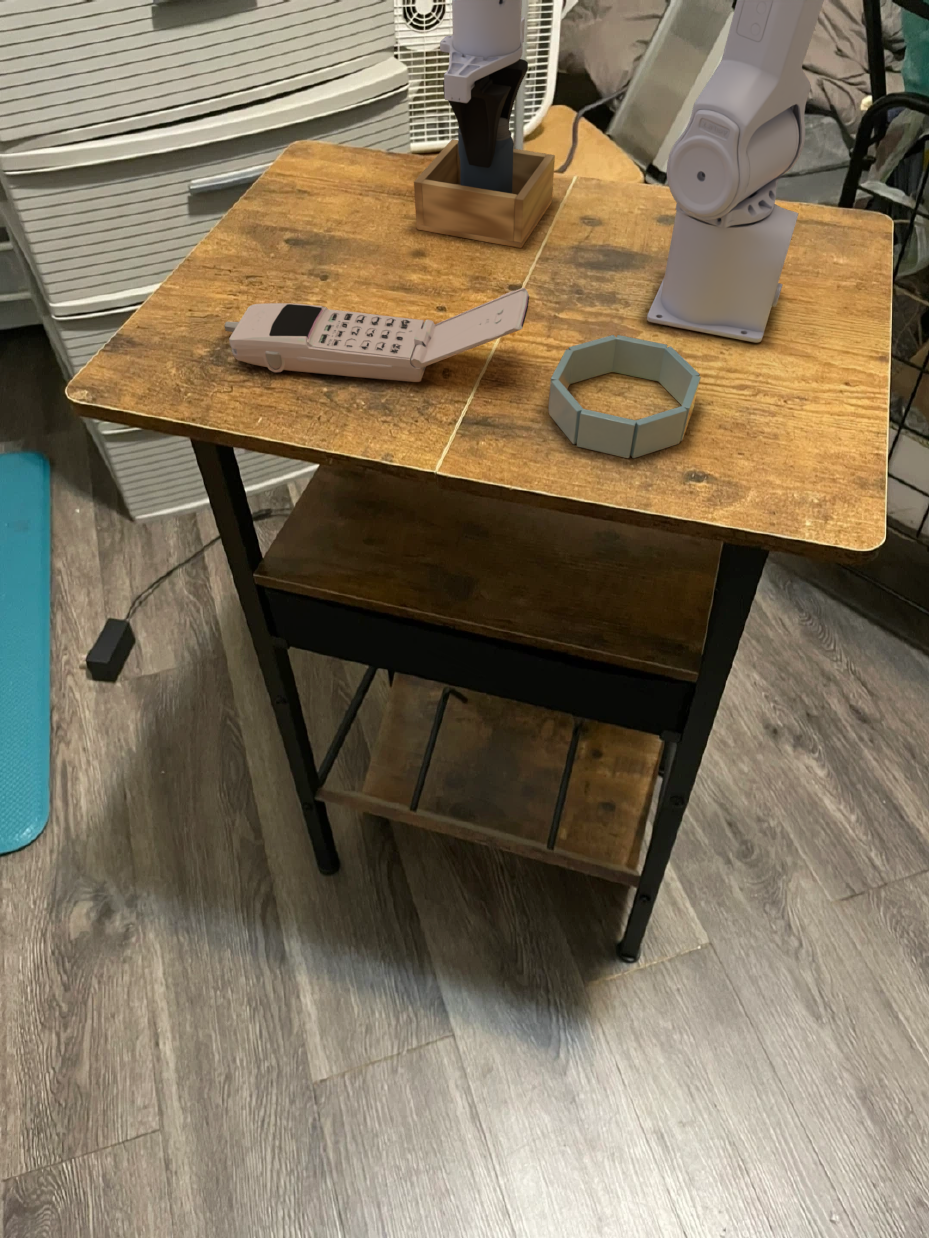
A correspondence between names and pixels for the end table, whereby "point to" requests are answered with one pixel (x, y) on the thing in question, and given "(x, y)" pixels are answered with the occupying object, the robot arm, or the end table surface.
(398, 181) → the end table surface
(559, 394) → the octagonal ring
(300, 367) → the mobile phone
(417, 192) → the holder
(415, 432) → the end table surface
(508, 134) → the vaping device
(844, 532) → the end table surface
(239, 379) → the end table surface
